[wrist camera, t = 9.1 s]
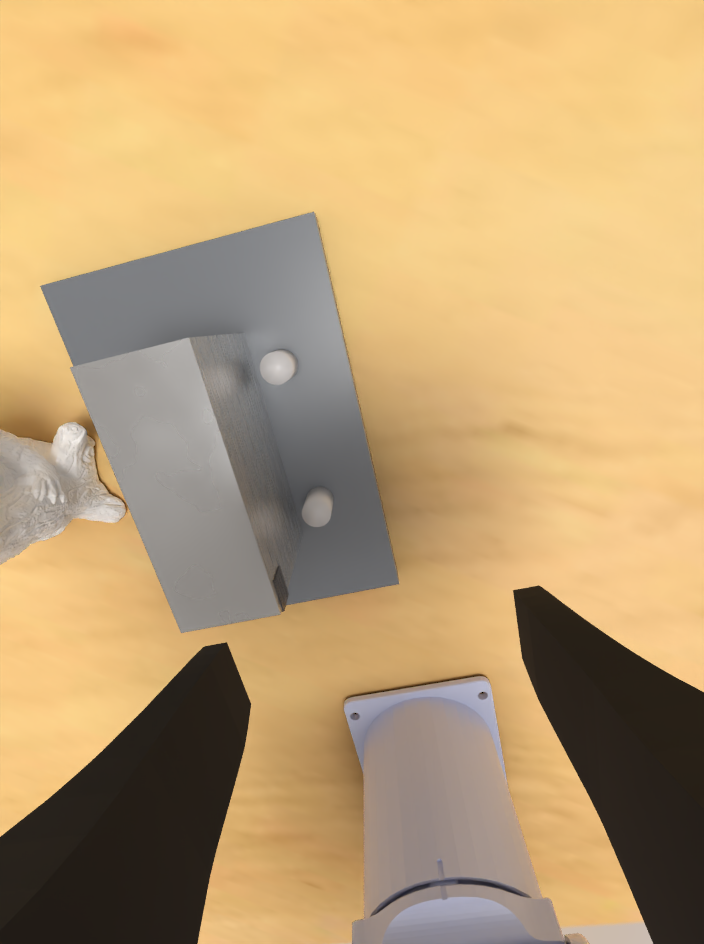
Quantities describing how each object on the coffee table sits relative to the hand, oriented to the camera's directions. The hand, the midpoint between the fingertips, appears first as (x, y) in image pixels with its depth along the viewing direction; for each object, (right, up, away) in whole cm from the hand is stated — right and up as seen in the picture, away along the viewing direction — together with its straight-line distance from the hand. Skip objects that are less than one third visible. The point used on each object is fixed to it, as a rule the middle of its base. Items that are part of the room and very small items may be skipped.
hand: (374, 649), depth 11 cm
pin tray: (-5, +6, +9) cm, 12 cm away
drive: (-6, +5, +8) cm, 11 cm away
